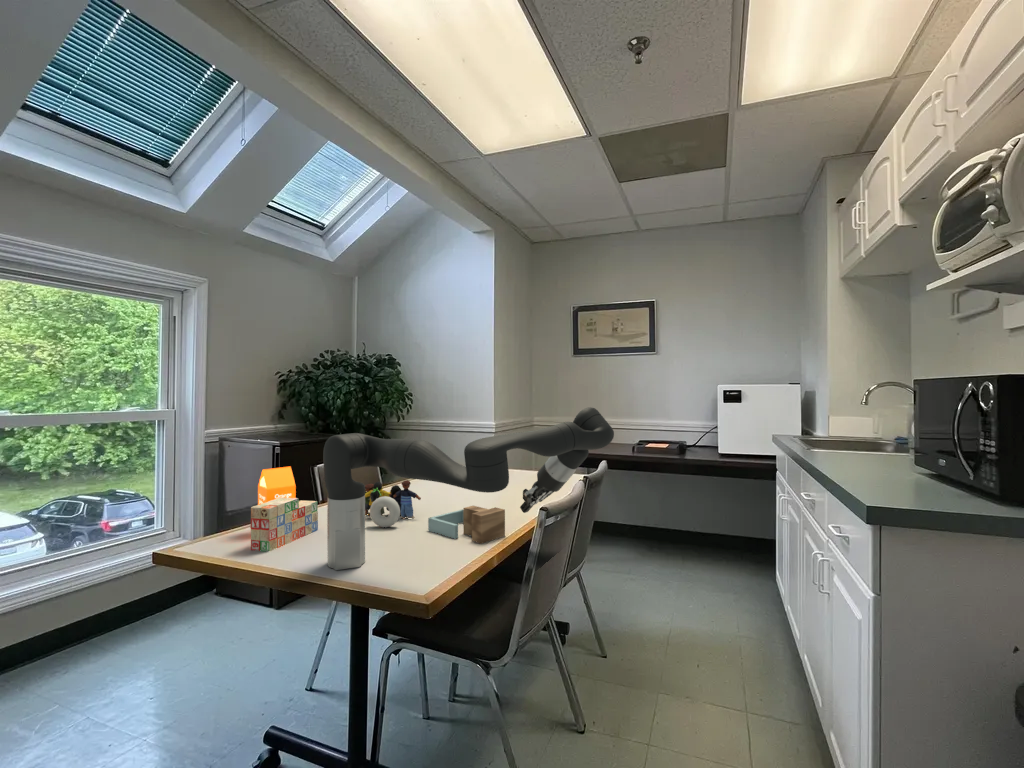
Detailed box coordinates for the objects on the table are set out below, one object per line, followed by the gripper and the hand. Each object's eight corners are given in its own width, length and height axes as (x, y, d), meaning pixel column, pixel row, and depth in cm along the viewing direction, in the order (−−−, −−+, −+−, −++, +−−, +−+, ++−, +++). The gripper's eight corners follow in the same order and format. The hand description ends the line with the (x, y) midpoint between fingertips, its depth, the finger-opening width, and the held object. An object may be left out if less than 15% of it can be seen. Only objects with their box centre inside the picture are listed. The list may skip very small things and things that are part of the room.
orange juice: (296, 530, 154) (296, 467, 155) (266, 537, 148) (266, 471, 148) (286, 526, 160) (286, 464, 160) (257, 531, 154) (257, 468, 154)
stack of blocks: (301, 528, 157) (301, 490, 157) (318, 530, 156) (318, 491, 156) (250, 550, 136) (250, 506, 136) (269, 552, 135) (269, 507, 135)
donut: (401, 526, 159) (401, 495, 159) (398, 529, 156) (398, 497, 156) (372, 525, 161) (372, 494, 161) (368, 528, 157) (367, 497, 157)
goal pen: (489, 528, 157) (489, 516, 157) (455, 538, 146) (455, 525, 146) (462, 521, 165) (462, 509, 165) (428, 530, 154) (428, 517, 154)
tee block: (505, 535, 149) (504, 509, 149) (481, 543, 142) (481, 516, 142) (479, 528, 156) (479, 503, 156) (456, 536, 149) (456, 509, 149)
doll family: (424, 513, 176) (424, 476, 176) (420, 520, 167) (420, 481, 167) (359, 513, 175) (359, 476, 175) (352, 520, 166) (351, 481, 166)
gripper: (550, 485, 124) (515, 525, 131) (580, 477, 133) (545, 516, 141) (533, 462, 127) (500, 503, 135) (563, 456, 137) (530, 495, 145)
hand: (523, 509), depth 138 cm, fingers closed
